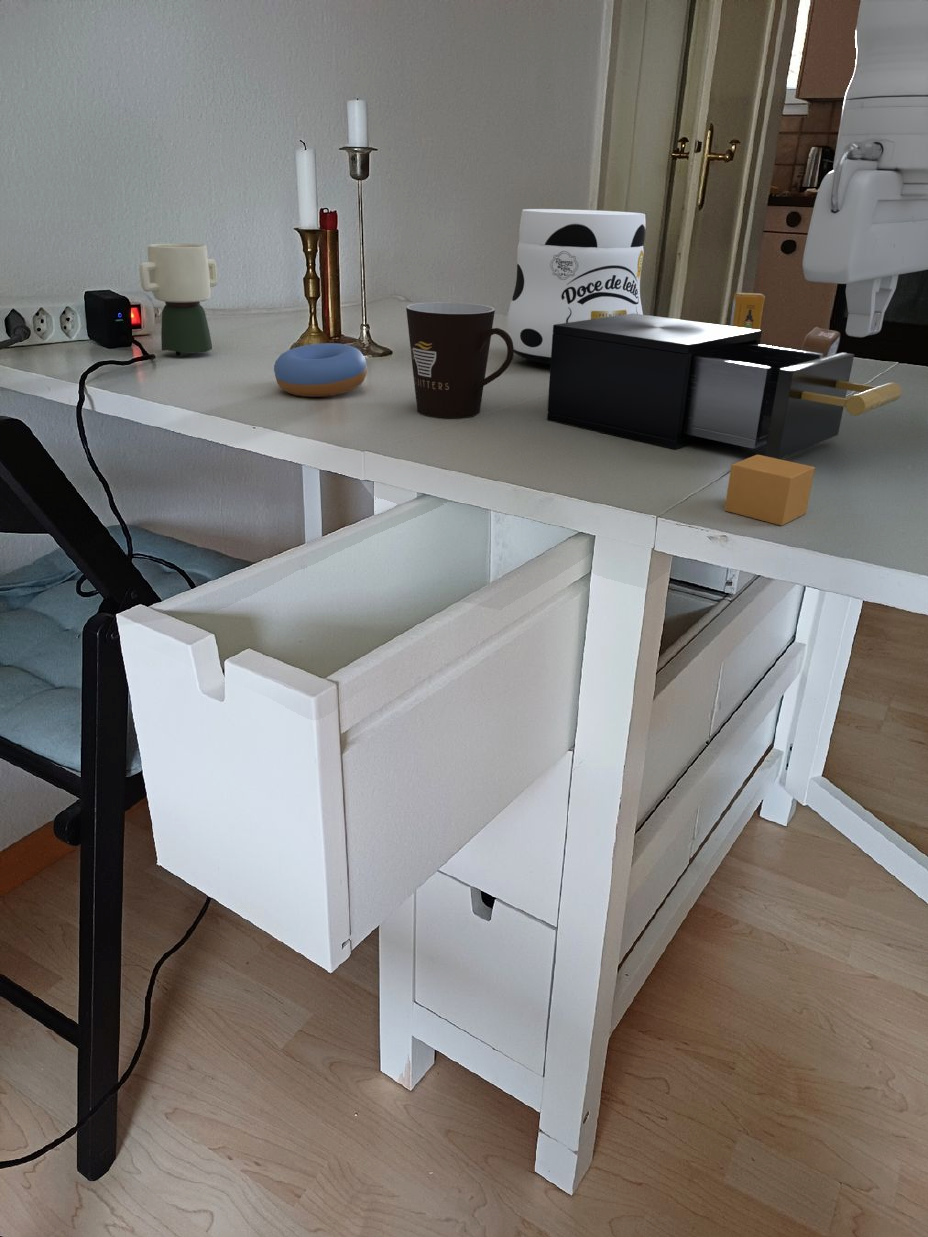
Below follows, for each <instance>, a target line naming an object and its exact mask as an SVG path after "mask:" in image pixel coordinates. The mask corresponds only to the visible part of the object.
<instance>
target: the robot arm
mask: <svg viewBox="0 0 928 1237" xmlns="http://www.w3.org/2000/svg"><path fill="white" fill-rule="evenodd" d="M854 39H855V48H856V59H855V65H854V66H855V67H854V71H853V75H852V78H851V80H850V82H849V85H848V86H847V89H846V91H845V94H844V99H843V105H842V110H841V117H840V121H839V122H840V123H839V128H838V135H837V140H836V147H835V153H834V154H835V155H834V158H833V165H832V168H833V169H832V170H831V171H829V172H828V173H827V174H826V175H824V177H823V178H822V180H821V183H820V186H819V187H818V190H817V191H818V192H817V194H816V197H815V201H814V205H813V209H812V214H811V218H810V221H809V226H808V232H807V236H806V240H805V241H806V242H805V246H804V251H803V255H802V271H803V276H804V280H806V281H807V282H814V283H823V284H824V283H825V284H837V285H838V284H839V285H845V286H846V287H845V298H846V306H847V314H848V315H847V320H846V326H845V334H846V335H847V336H849V337H854V338H865V337H868V336H872V335H876V334H878V333H880V332H881V330H882V327H883V321H884V316H885V312H886V310H887V308H888V306H889V304H890V302H891V300H892V298H893V296H894V293H895V292H896V289H897V284H898V280H899V276H900V275H904V274H909V273H917V272H922V271H928V0H860V3H859V9H858V14H857V21H856V26H855V35H854Z"/></svg>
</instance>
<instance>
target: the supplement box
mask: <svg viewBox="0 0 928 1237" xmlns="http://www.w3.org/2000/svg"><path fill="white" fill-rule="evenodd" d="M765 299H766V296H765V295H764V294H763V293H757V292H756V293H755V292H734V294H733V298H732V300H733V301H732V308H731V316H730V324H729V326H732V327H740V328H747V329H755V330H761V323H762V316H763V312H764V310H763V309H764V306H765V305H764V304H765Z"/></svg>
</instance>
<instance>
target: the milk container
mask: <svg viewBox="0 0 928 1237" xmlns="http://www.w3.org/2000/svg"><path fill="white" fill-rule="evenodd" d="M646 225H647V224H646V214H645V213H642V212H633V211H619V210H618V211H617V210H615V211H614V210H598V209H594V210H592V209H563V208H562V209H561V208H559V209H557V208H526V209H524V208H523V209H522V211H521V214H520V222H519V227H518V228H519V229H518V240H519V241H518V245H517V247H516V248H517V249H516V250H517V251H516V260H517V261H516V278H515V279H516V280H515V286H514V289H513V290H514V291H513V294H512V298H511V300H510V305H509V308H508V310H507V318H506V331H507V332H506V333H508V335H509V336H510V337H511V339H512V341H513V348H514V354H515V355H517V356H518V357H521V358H522V359H523V358H524V359H525V360H527V361H530V362H535V363H539V364H543V365H549V366H551V350H552V335H553V325H555V324H562V323H569V322H577V321H584V320H591V319H598V318H605V317H612V316H619V315H626V314H633V313H634V314H641V315H644V313H643V306H642V300H641V274H642V267H643V262H644V253H645V252H644V247H645V241H646Z"/></svg>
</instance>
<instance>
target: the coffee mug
mask: <svg viewBox="0 0 928 1237" xmlns="http://www.w3.org/2000/svg"><path fill="white" fill-rule="evenodd" d="M405 311H406V321H407V330H408V337H409V338H408V339H409V348H410V358H411V366H412V375H413V376H412V377H413V384H414V394H415V404H416V411H417V413H419V414H421V415H422V416H426V417H431V418H438V419H464V418H465V419H466V418H472V417H475V416H477V415H479V414H480V413H481V407H482V406H481V405H482V399H483V395H484V394H483V392H484V386H487V385H488V384H490V383H491V382H493V381H495V380H496V379H497V378H499V377H500V376H502V374H503V373H504V372H505V371H506V370H507V369H508V368H509V366H510V365H511V363H512V362H513V358H514V354H515V353H514V348H513V341H512V339H511V337H510V336H509V335H508V333H507V332H506V331H505V330H504V329H502V328H500V327H493V326H494V319H495V313H496V308H495V307H493V306H489V305H485V304H479V303H469V302H453V301H451V302H450V301H449V302H448V301H433V302H432V301H431V302H430V301H429V302H417V303H411V304H408V305H406V306H405ZM493 335H497V336H499V337H500V338H501V339H502V340H503V341H504V343H505V345H506V349H507V353H506V358H505V360H504V362H503V363H502V364H501V366H500V367H499V368H498V369H497V370H495V371H494V372H493V373H491V374H489V375H488V376H487V377H486V373H487V366H488V365H487V364H488V360H489V352H490V347H491V339H492V336H493Z"/></svg>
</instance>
